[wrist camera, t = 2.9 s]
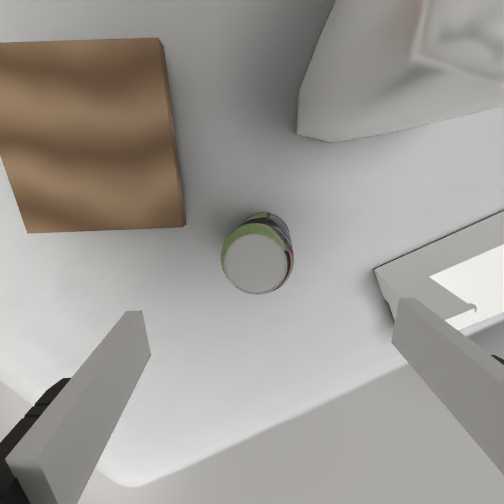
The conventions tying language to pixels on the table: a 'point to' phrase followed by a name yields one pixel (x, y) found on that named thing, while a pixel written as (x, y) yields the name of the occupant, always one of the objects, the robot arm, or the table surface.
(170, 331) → the table surface
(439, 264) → the white pipe support bracket
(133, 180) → the wooden serving board
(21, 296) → the table surface
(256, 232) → the beverage can
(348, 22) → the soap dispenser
